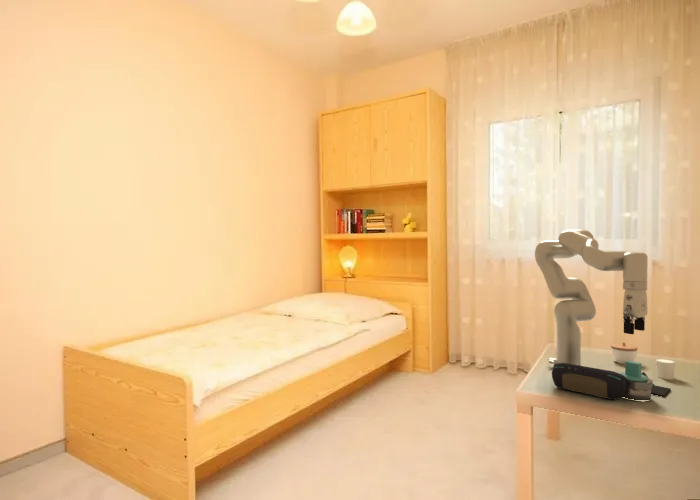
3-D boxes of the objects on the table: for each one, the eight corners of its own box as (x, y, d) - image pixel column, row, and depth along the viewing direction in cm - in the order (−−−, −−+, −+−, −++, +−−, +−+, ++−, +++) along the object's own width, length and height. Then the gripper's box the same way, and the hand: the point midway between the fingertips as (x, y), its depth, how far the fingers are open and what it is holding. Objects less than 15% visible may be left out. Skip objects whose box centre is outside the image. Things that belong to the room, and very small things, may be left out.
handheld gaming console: (671, 394, 158) (651, 369, 163) (652, 403, 161) (633, 378, 166) (672, 390, 167) (653, 366, 172) (654, 398, 170) (636, 375, 175)
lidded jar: (629, 366, 198) (629, 346, 198) (605, 361, 207) (606, 341, 207) (641, 363, 203) (642, 343, 203) (618, 358, 213) (618, 339, 212)
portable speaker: (548, 389, 168) (548, 364, 168) (555, 382, 176) (555, 358, 176) (623, 405, 152) (623, 377, 151) (628, 397, 159) (628, 370, 159)
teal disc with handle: (614, 383, 161) (615, 361, 161) (625, 378, 166) (625, 357, 166) (641, 390, 154) (641, 367, 154) (651, 385, 159) (651, 363, 159)
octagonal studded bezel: (612, 395, 161) (612, 377, 161) (624, 389, 167) (624, 371, 167) (644, 404, 153) (644, 384, 153) (655, 397, 159) (655, 378, 159)
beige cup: (678, 380, 179) (679, 363, 178) (660, 379, 180) (660, 362, 180) (670, 375, 185) (670, 359, 185) (652, 374, 187) (652, 358, 187)
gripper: (637, 288, 151) (636, 337, 152) (655, 285, 162) (654, 330, 162) (613, 286, 157) (613, 333, 158) (632, 283, 168) (632, 327, 168)
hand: (634, 331), depth 160 cm, fingers open, 9 cm apart
